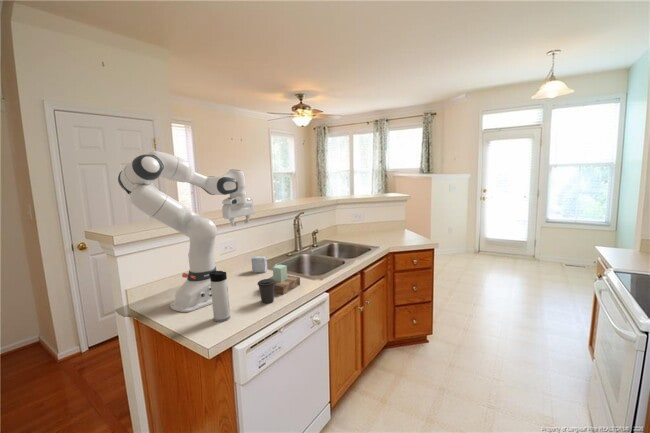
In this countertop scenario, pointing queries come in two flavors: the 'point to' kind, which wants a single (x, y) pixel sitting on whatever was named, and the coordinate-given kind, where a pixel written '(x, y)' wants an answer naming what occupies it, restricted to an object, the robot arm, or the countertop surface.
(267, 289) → the coffee cup
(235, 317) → the countertop surface
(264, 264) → the medicine box
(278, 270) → the sage block
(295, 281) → the walnut base
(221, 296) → the travel mug
